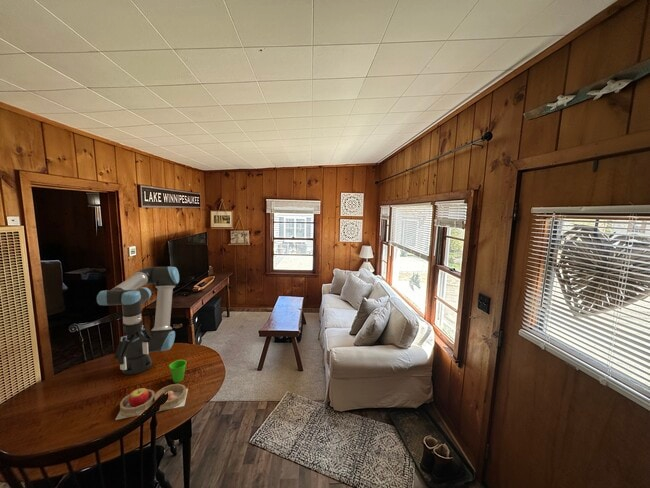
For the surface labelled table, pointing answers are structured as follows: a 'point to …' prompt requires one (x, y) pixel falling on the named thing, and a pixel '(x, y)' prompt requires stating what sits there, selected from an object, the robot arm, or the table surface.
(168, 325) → the robot arm
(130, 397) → the apple
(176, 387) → the ring
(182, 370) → the cup
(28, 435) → the table surface
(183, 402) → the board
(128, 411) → the ring
